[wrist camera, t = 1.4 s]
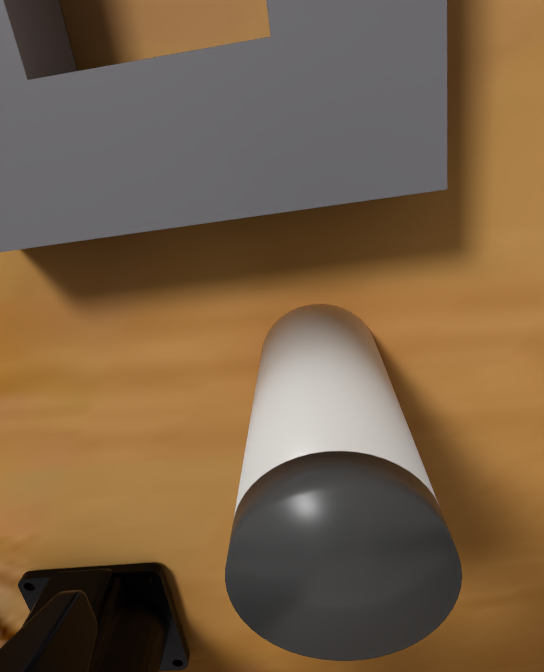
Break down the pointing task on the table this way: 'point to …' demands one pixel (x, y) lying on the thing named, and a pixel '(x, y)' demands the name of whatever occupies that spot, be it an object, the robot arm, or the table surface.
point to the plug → (335, 501)
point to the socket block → (219, 121)
